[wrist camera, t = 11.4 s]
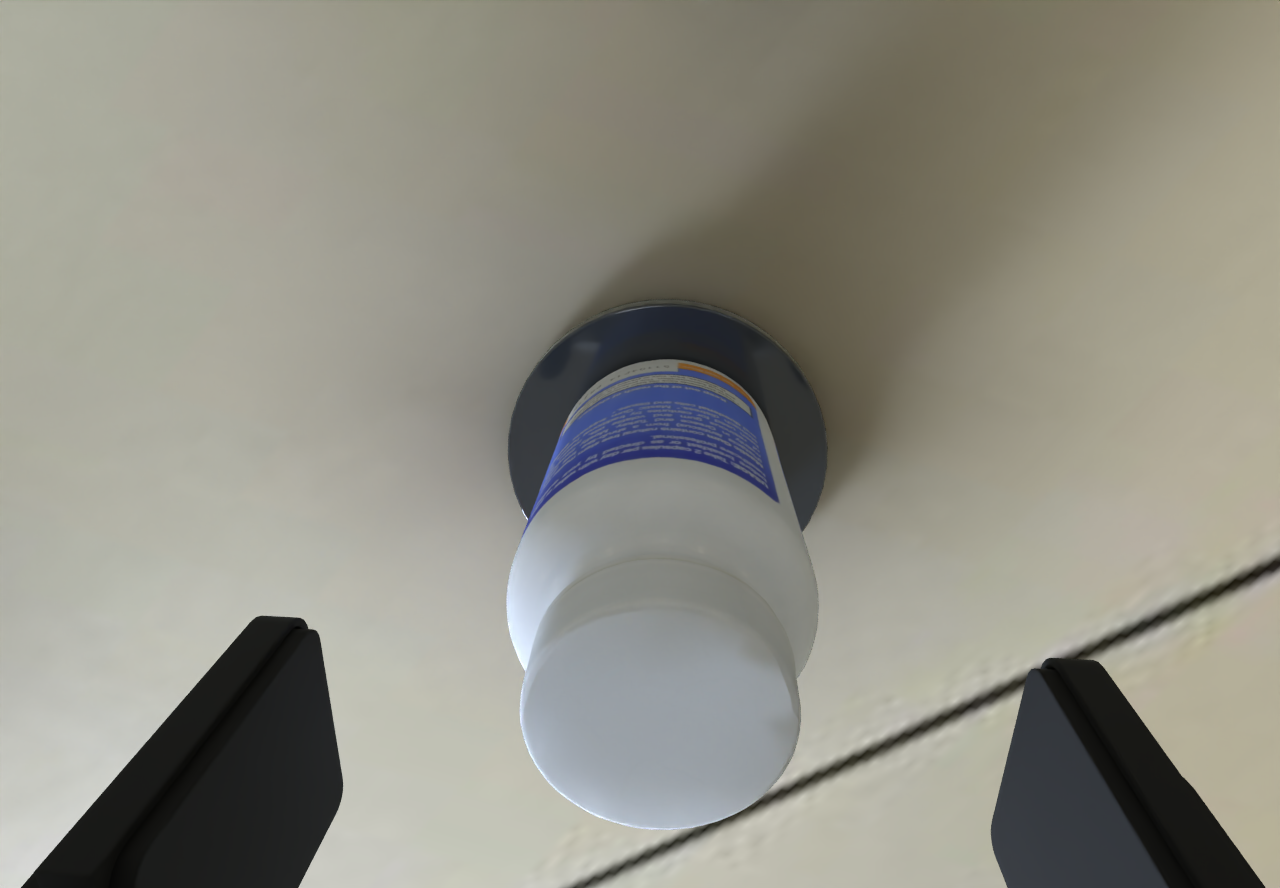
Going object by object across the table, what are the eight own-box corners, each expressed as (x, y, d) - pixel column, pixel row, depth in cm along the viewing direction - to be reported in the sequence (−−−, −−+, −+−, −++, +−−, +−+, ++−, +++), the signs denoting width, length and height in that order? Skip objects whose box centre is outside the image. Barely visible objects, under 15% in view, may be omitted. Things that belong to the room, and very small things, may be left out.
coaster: (505, 293, 20) (500, 298, 19) (840, 303, 19) (844, 308, 19) (517, 581, 23) (513, 593, 22) (808, 594, 22) (812, 607, 22)
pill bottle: (518, 426, 20) (380, 669, 11) (703, 310, 19) (717, 480, 10) (638, 588, 22) (601, 917, 13) (817, 491, 21) (919, 782, 11)
